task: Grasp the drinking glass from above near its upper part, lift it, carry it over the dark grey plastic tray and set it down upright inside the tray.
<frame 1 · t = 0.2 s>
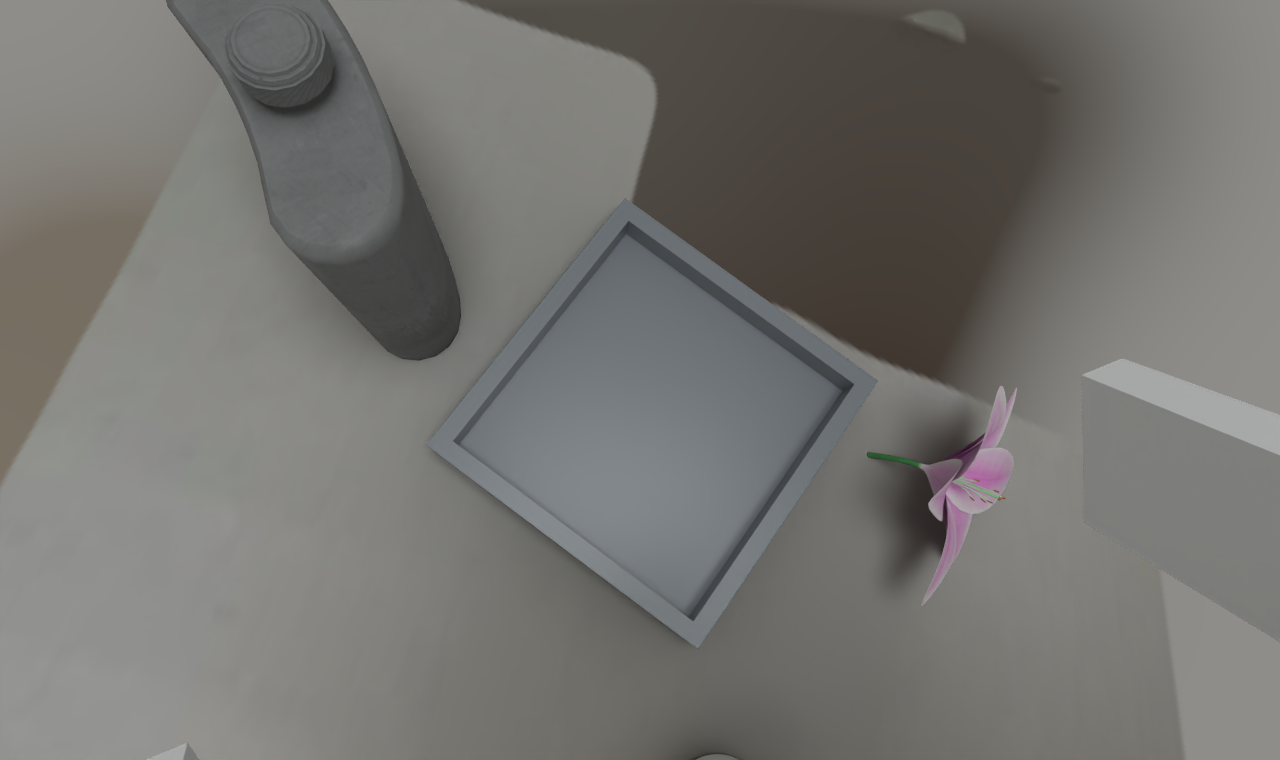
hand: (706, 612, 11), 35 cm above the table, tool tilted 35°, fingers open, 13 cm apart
lily: (927, 491, 48), on the table
tray: (653, 419, 47), on the table
flask: (389, 246, 48), on the table
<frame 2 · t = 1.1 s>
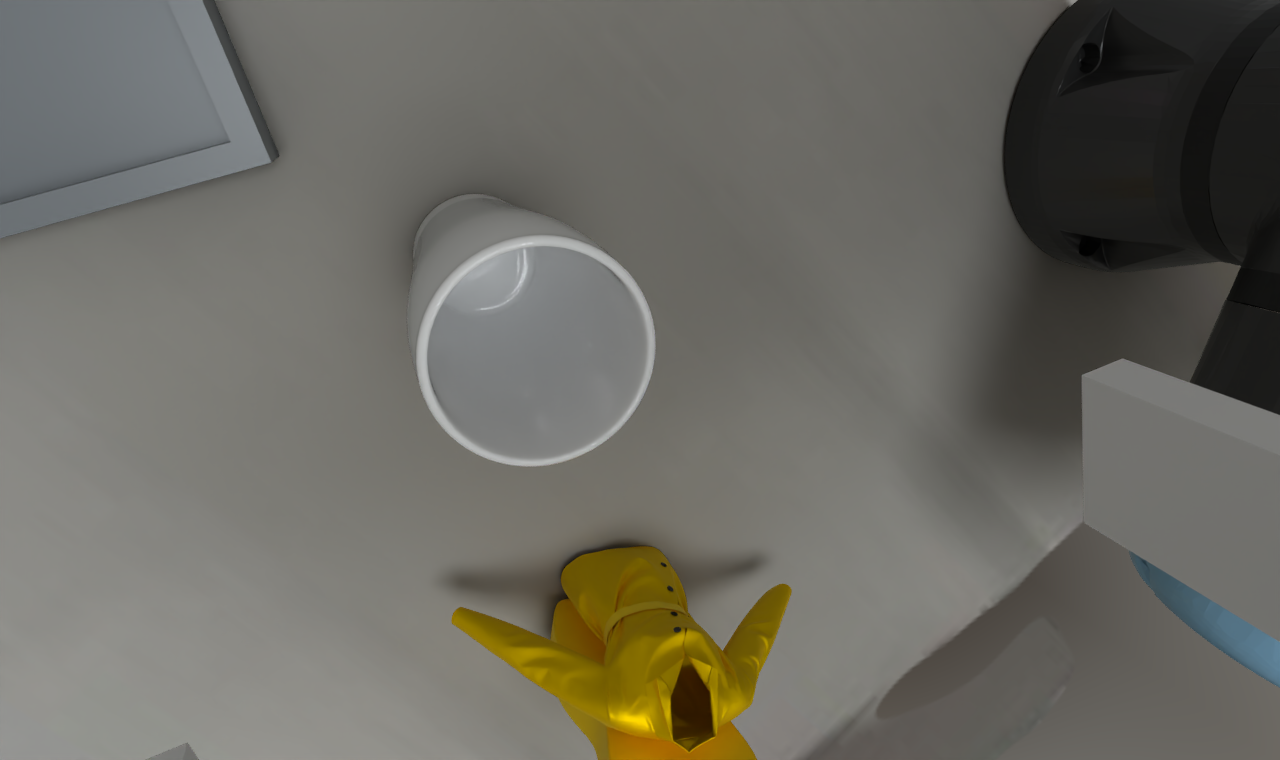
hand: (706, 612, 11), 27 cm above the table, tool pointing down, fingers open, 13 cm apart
drinking glass: (474, 252, 35), on the table
figure statuette: (609, 594, 44), on the table
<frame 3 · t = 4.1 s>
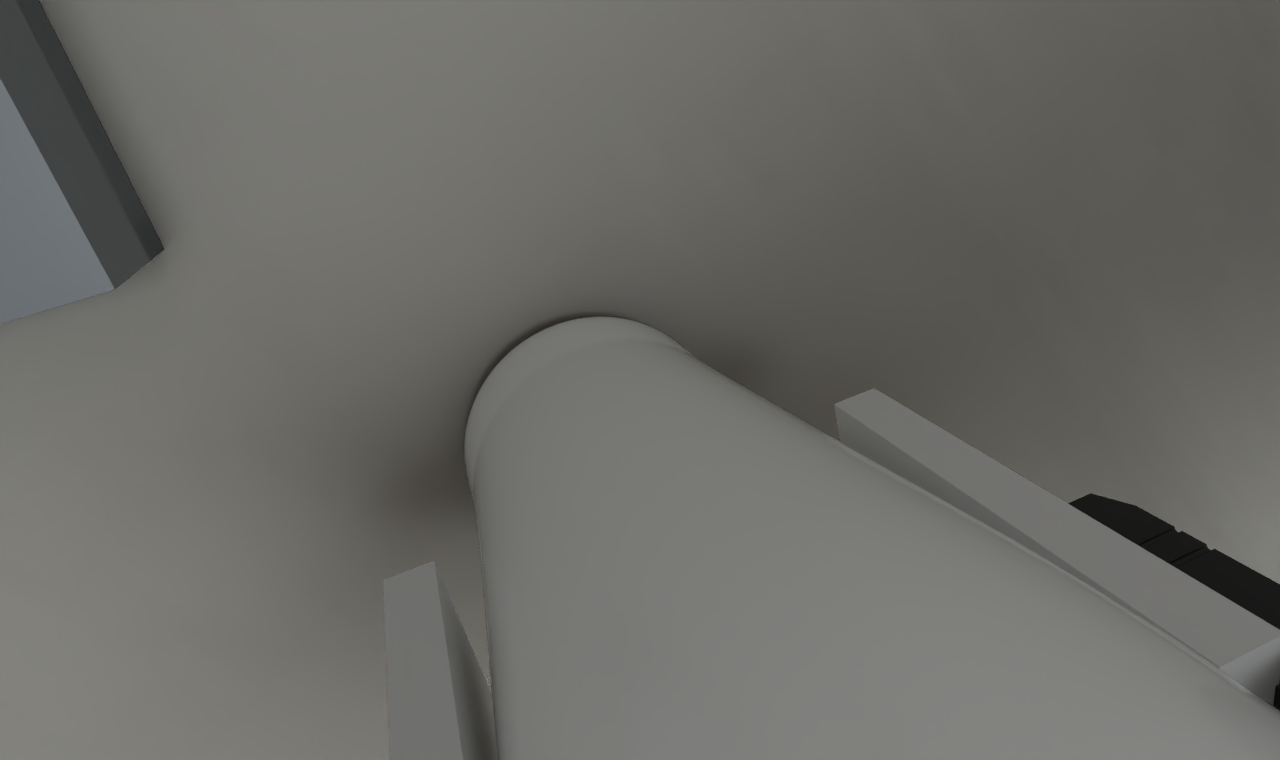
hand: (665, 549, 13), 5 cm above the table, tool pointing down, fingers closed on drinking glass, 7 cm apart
drinking glass: (584, 425, 17), on the table, touching gripper
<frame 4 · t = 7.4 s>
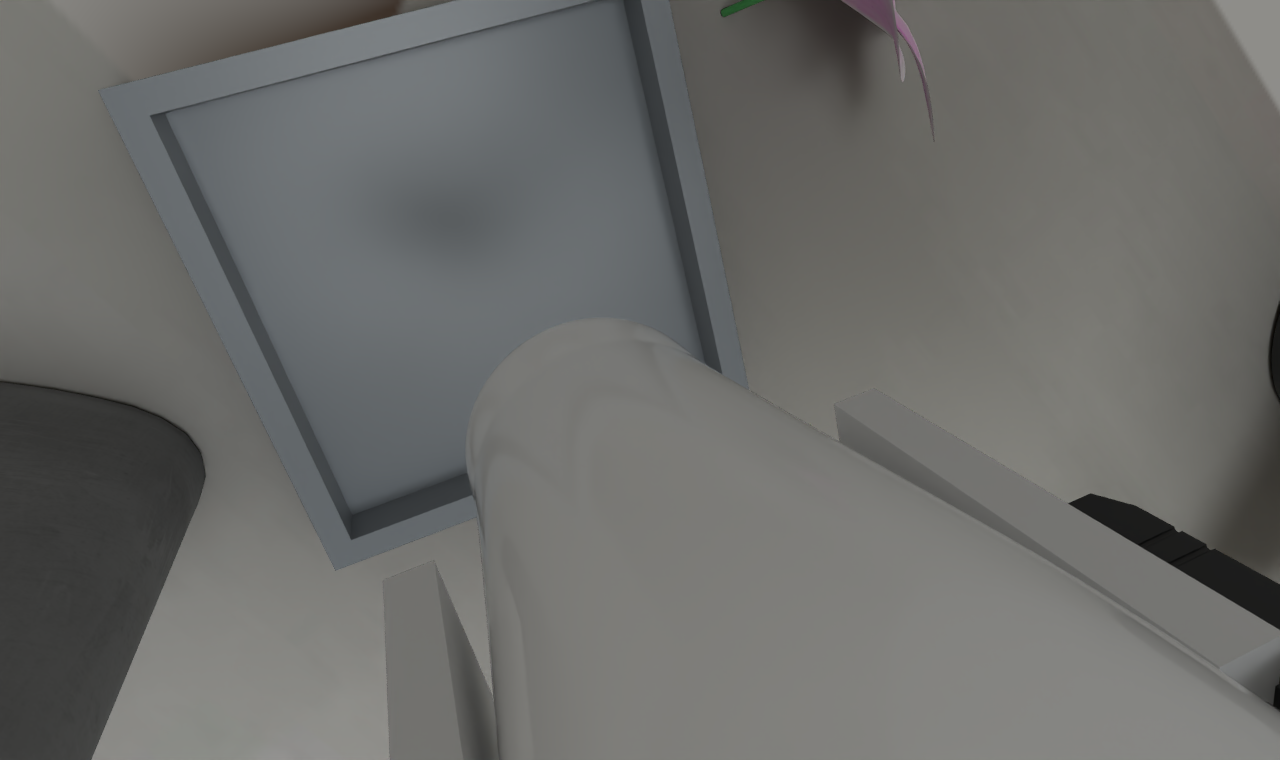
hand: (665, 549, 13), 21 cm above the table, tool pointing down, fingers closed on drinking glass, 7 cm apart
drinking glass: (585, 426, 17), point 16 cm above the table, touching gripper
tray: (476, 264, 32), on the table
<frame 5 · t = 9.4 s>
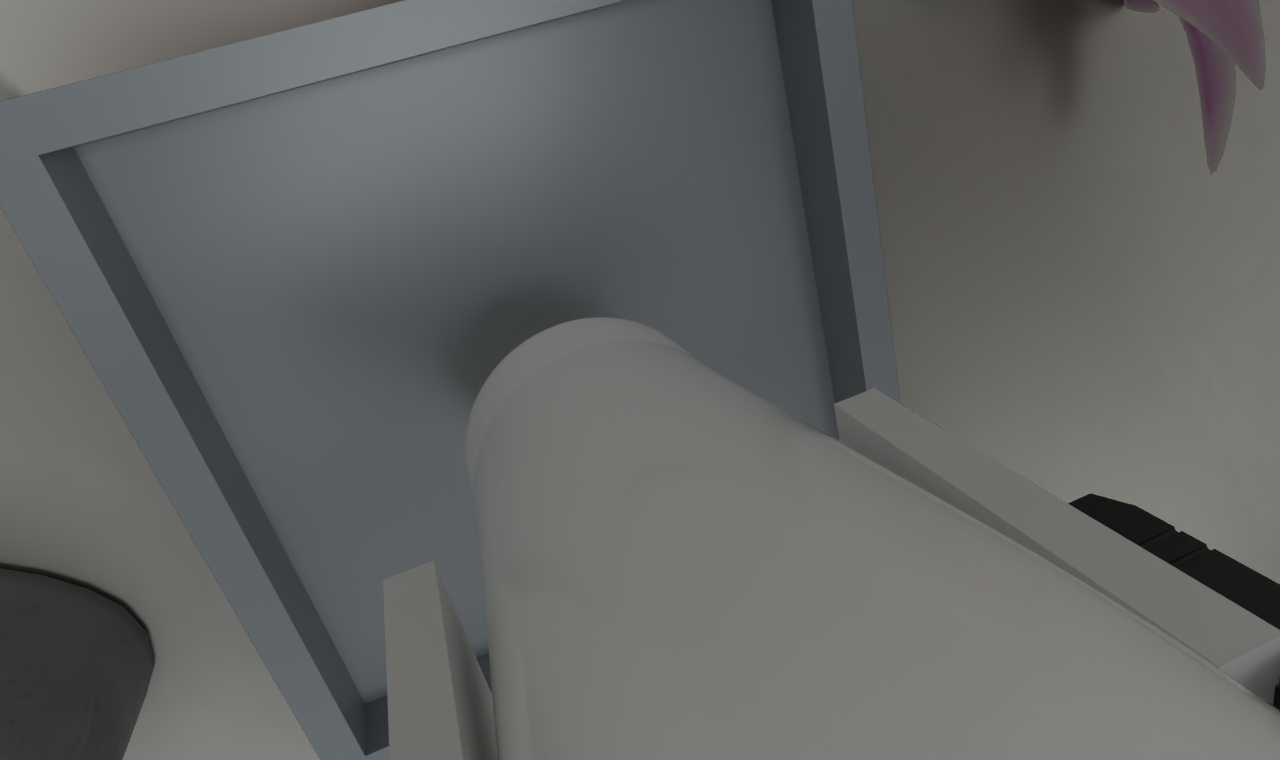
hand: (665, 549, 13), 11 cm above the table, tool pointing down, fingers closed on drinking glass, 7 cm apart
drinking glass: (584, 425, 17), point 5 cm above the table, touching gripper
tray: (541, 353, 22), on the table
when the fingers open (7 cm above the table, at t = 10.9 s): drinking glass stays where it is, resting on tray.
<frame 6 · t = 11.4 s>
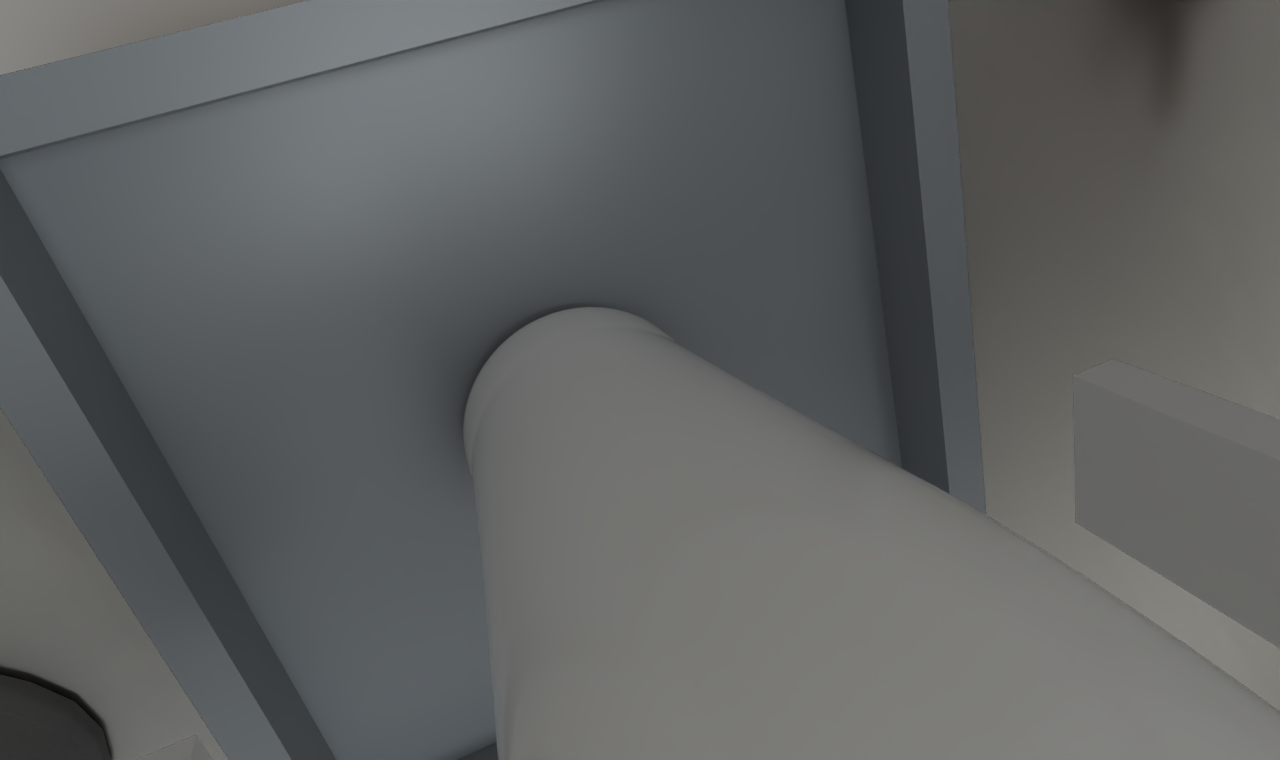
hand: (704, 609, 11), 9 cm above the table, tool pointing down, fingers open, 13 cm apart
drinking glass: (576, 410, 18), point 1 cm above the table, touching tray
tray: (566, 396, 19), on the table
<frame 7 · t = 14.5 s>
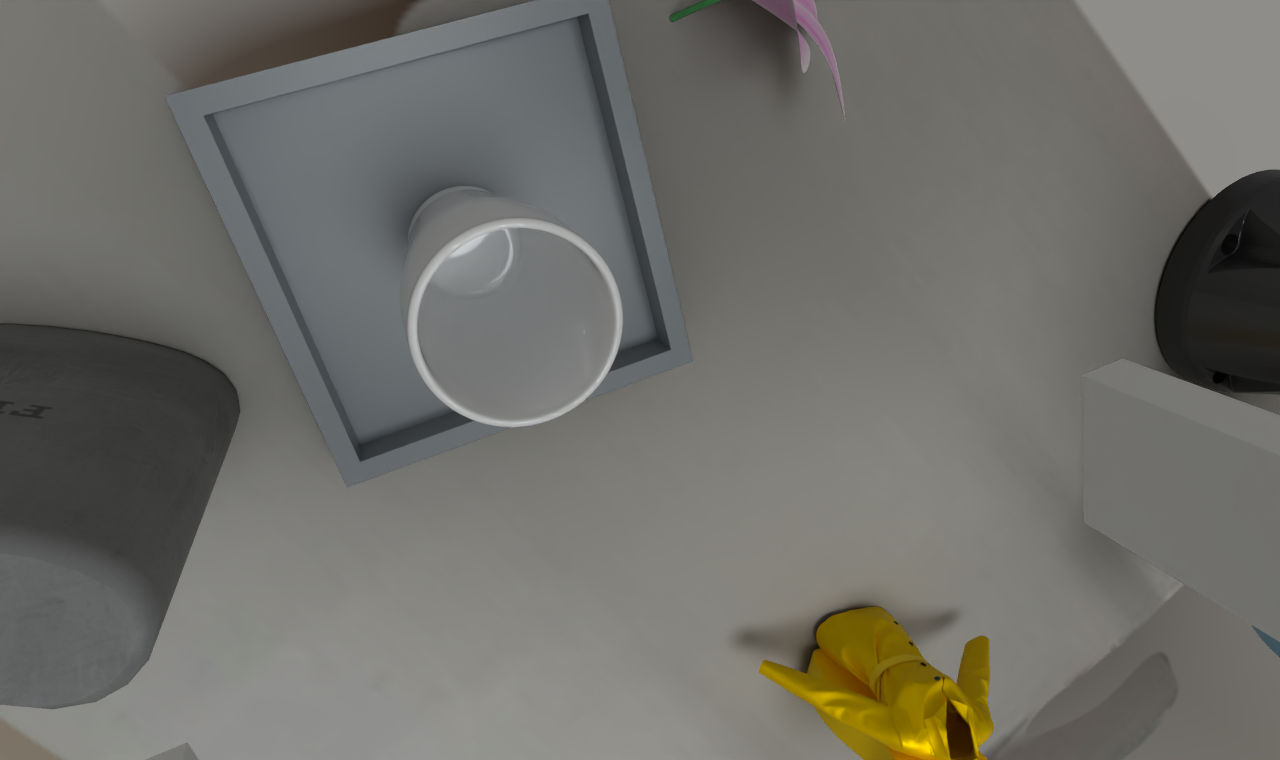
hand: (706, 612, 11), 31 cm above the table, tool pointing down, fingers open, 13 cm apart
drinking glass: (464, 241, 38), point 1 cm above the table, touching tray
tray: (461, 237, 39), on the table
flask: (55, 386, 35), on the table
figure statuette: (844, 643, 56), on the table
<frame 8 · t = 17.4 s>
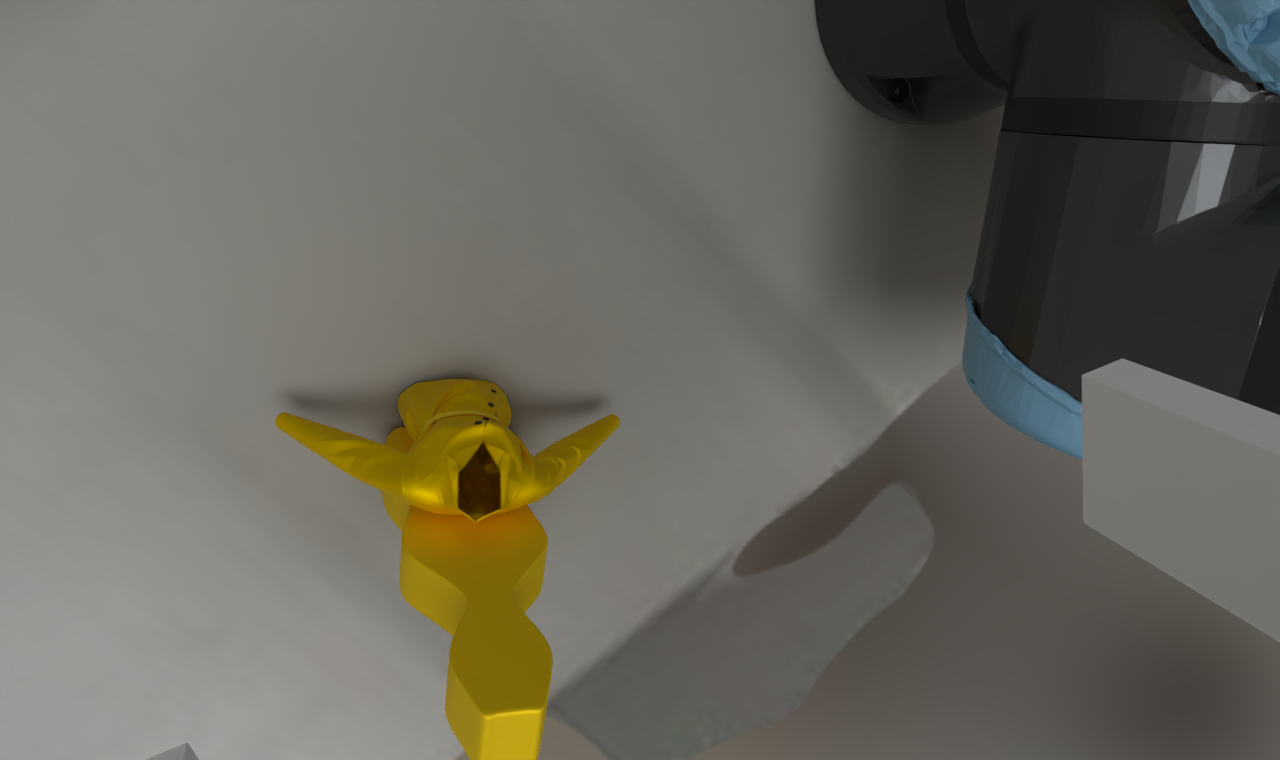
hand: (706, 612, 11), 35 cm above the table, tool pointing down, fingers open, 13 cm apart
figure statuette: (451, 428, 46), on the table
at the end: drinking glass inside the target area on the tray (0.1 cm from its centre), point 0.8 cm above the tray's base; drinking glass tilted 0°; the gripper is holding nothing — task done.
